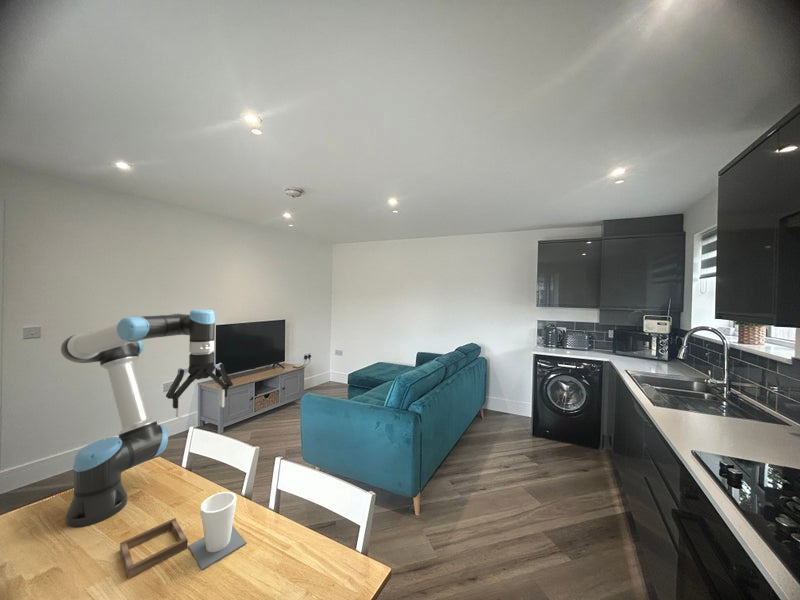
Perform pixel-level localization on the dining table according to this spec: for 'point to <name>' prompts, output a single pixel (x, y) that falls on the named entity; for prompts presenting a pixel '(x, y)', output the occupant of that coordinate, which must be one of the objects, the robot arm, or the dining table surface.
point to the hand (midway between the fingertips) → (201, 411)
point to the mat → (209, 558)
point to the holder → (157, 557)
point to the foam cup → (218, 520)
